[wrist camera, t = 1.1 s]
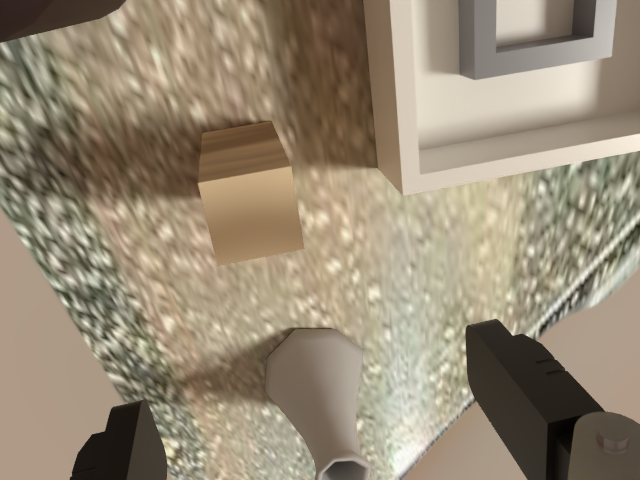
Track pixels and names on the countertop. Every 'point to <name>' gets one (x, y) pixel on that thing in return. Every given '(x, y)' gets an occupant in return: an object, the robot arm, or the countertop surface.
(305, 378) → the flask
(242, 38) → the countertop surface
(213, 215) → the plug
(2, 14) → the bottle
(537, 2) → the box
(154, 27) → the countertop surface
